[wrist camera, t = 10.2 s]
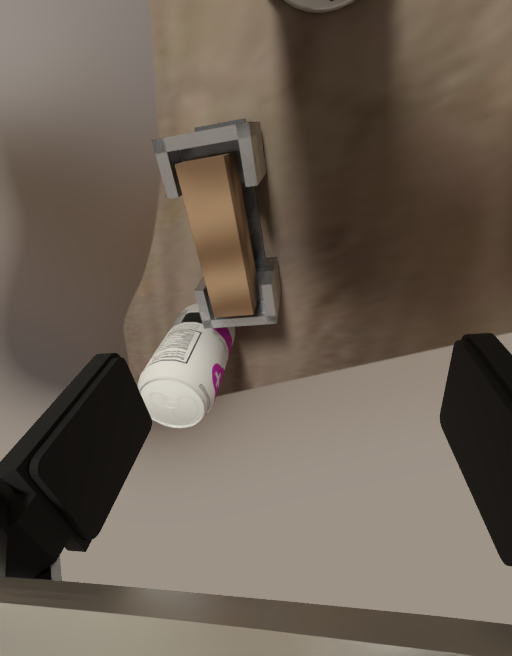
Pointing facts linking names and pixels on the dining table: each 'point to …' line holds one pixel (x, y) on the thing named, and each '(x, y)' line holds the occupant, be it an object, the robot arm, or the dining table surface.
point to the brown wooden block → (220, 232)
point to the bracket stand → (251, 171)
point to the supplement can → (186, 371)
